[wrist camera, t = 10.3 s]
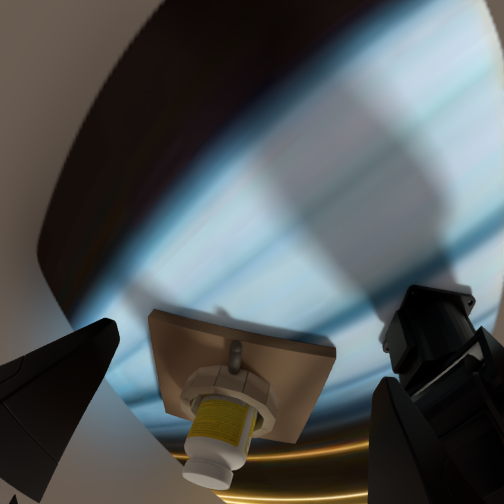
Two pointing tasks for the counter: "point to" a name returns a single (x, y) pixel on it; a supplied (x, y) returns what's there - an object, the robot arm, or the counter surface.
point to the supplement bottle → (218, 440)
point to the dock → (238, 372)
